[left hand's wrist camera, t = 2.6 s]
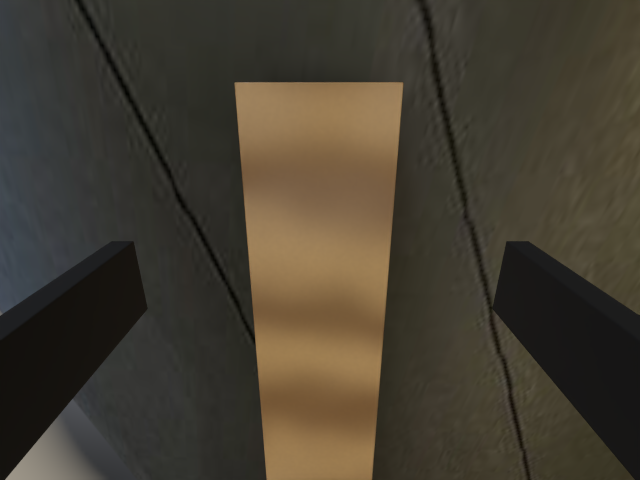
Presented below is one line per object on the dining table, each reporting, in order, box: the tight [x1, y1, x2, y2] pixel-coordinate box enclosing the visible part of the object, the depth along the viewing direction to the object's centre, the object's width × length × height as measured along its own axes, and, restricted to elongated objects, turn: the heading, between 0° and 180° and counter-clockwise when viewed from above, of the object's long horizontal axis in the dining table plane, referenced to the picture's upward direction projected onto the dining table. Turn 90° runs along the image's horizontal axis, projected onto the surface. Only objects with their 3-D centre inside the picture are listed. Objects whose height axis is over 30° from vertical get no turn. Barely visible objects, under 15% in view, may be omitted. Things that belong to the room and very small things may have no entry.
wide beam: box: [235, 82, 403, 480], centre depth 34 cm, size 67×9×8 cm, turn 0°
